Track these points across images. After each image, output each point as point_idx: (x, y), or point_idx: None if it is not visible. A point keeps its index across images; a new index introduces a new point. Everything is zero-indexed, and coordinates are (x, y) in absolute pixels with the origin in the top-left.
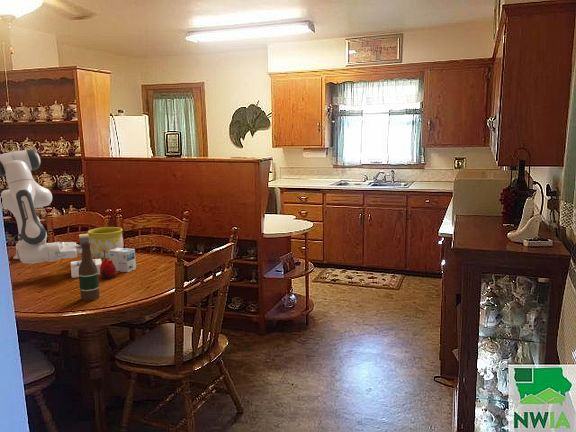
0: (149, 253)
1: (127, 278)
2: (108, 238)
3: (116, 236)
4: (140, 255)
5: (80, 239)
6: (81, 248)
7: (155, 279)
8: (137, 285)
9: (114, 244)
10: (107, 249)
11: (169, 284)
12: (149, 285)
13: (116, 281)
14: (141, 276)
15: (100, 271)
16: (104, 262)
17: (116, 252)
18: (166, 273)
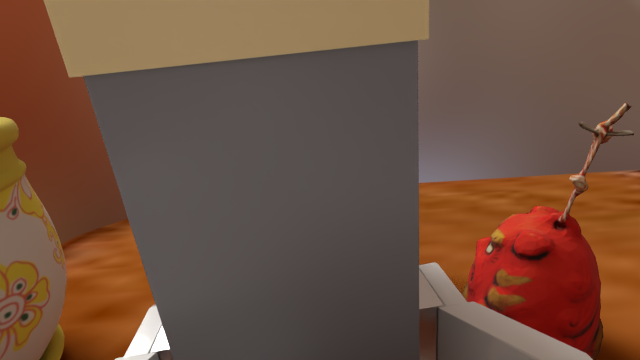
0: (82, 238)
1: None
2: (2, 187)
3: (22, 161)
4: (79, 259)
5: (408, 101)
6: (409, 345)
7: (519, 198)
8: (634, 225)
9: (50, 228)
10: (38, 292)
11: (573, 174)
12: (612, 202)
13: (606, 297)
14: (479, 227)
15: (583, 343)
16: (584, 241)
17: None
18: (434, 186)
